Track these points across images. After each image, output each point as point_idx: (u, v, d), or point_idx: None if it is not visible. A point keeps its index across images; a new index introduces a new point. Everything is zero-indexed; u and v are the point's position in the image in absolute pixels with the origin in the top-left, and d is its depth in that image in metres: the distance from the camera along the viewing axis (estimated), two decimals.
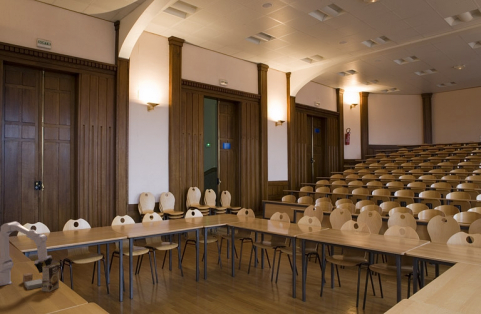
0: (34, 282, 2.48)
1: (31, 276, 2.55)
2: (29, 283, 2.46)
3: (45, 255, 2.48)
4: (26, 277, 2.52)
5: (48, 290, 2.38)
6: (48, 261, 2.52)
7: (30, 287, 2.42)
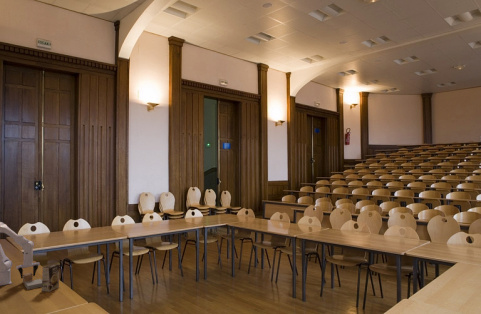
0: (34, 282, 2.48)
1: (31, 276, 2.55)
2: (29, 283, 2.46)
3: (27, 262, 2.53)
4: (26, 277, 2.52)
5: (48, 290, 2.38)
6: (34, 268, 2.57)
7: (30, 287, 2.42)
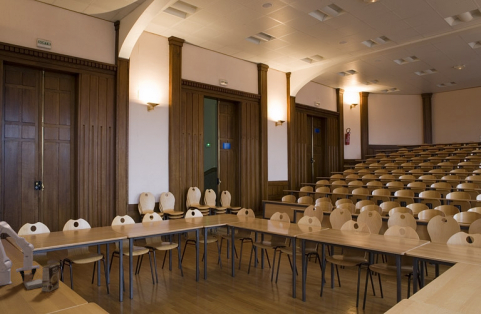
0: (34, 282, 2.48)
1: (31, 276, 2.55)
2: (29, 283, 2.46)
3: (27, 266, 2.53)
4: (26, 277, 2.52)
5: (48, 290, 2.38)
6: (32, 271, 2.56)
7: (30, 287, 2.42)
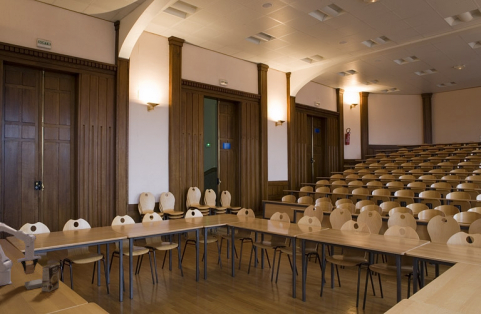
0: (34, 282, 2.48)
1: (33, 266, 2.53)
2: (29, 283, 2.46)
3: (29, 256, 2.52)
4: (28, 267, 2.51)
5: (48, 290, 2.38)
6: (33, 262, 2.55)
7: (30, 287, 2.42)
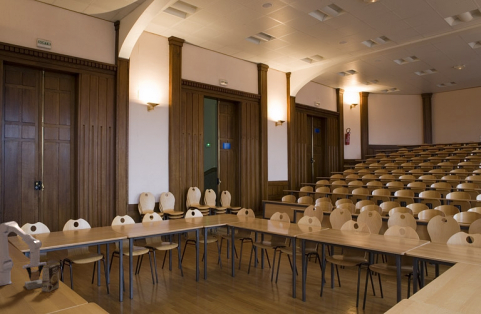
0: (34, 282, 2.48)
1: (38, 273, 2.48)
2: (29, 283, 2.46)
3: (34, 262, 2.46)
4: (33, 274, 2.46)
5: (48, 290, 2.38)
6: (39, 268, 2.50)
7: (30, 287, 2.42)
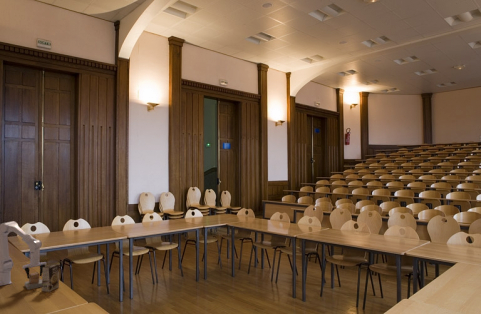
0: None
1: (38, 276, 2.48)
2: (29, 283, 2.46)
3: (34, 262, 2.46)
4: (33, 277, 2.46)
5: (48, 290, 2.38)
6: (40, 268, 2.50)
7: (30, 287, 2.42)
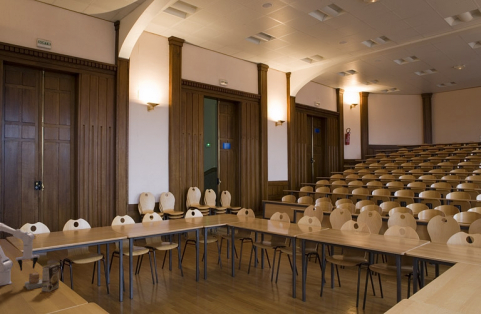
0: None
1: (38, 276, 2.48)
2: (29, 283, 2.46)
3: (27, 254, 2.50)
4: (33, 277, 2.46)
5: (48, 290, 2.38)
6: (33, 260, 2.55)
7: (30, 287, 2.42)
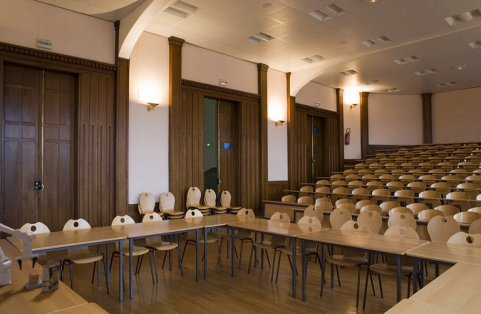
0: None
1: (37, 276, 2.47)
2: (29, 283, 2.46)
3: (27, 254, 2.51)
4: (32, 277, 2.45)
5: (48, 290, 2.38)
6: (33, 260, 2.55)
7: (30, 287, 2.42)
